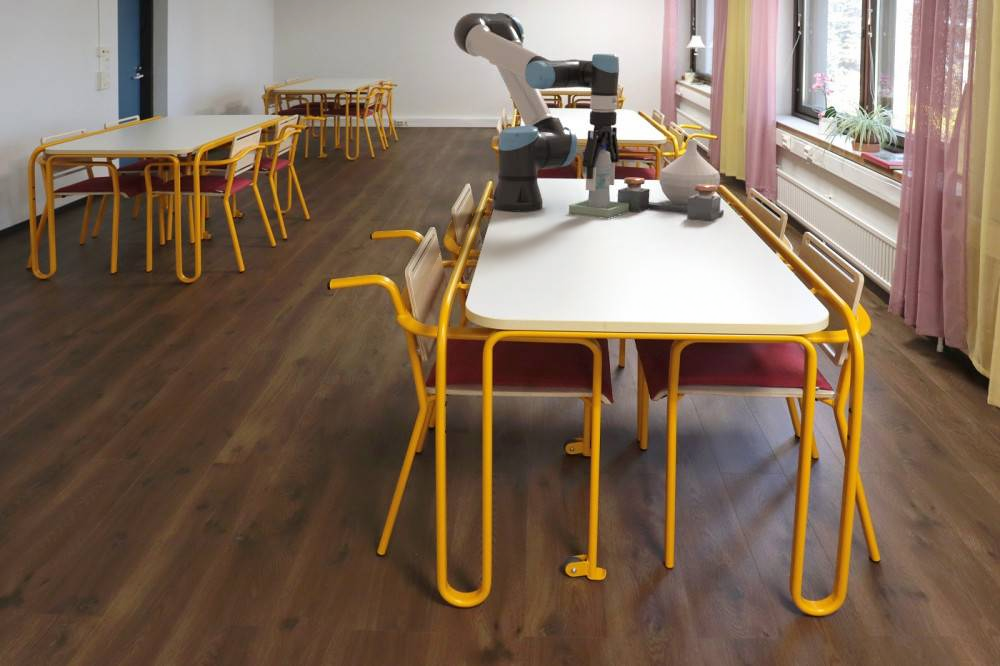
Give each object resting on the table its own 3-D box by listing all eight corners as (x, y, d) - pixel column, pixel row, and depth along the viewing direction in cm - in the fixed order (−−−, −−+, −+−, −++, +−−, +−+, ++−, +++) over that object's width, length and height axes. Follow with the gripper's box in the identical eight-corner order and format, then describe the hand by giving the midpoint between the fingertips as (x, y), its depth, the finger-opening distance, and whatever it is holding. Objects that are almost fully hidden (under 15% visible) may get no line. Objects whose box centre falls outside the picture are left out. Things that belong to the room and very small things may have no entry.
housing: (617, 210, 289) (618, 189, 287) (631, 204, 297) (633, 185, 295) (710, 221, 274) (712, 199, 272) (723, 215, 283) (725, 194, 281)
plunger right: (689, 215, 277) (691, 186, 275) (697, 211, 282) (699, 183, 280) (709, 217, 274) (712, 188, 272) (717, 214, 279) (719, 185, 277)
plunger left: (619, 206, 288) (620, 179, 286) (628, 203, 293) (629, 176, 291) (638, 209, 285) (639, 181, 283) (646, 206, 290) (648, 178, 288)
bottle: (609, 212, 280) (610, 142, 274) (586, 212, 282) (586, 142, 275) (611, 208, 286) (612, 139, 280) (588, 208, 288) (589, 139, 282)
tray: (568, 213, 282) (569, 205, 281) (589, 207, 293) (589, 198, 292) (609, 218, 276) (609, 209, 275) (628, 211, 286) (629, 203, 285)
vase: (651, 197, 310) (655, 136, 304) (707, 197, 312) (712, 136, 306) (666, 208, 293) (671, 143, 287) (725, 207, 294) (731, 143, 289)
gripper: (596, 114, 264) (593, 194, 270) (633, 108, 283) (629, 183, 290) (571, 112, 268) (569, 191, 274) (609, 107, 287) (606, 180, 293)
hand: (600, 187), depth 282 cm, fingers open, 11 cm apart
